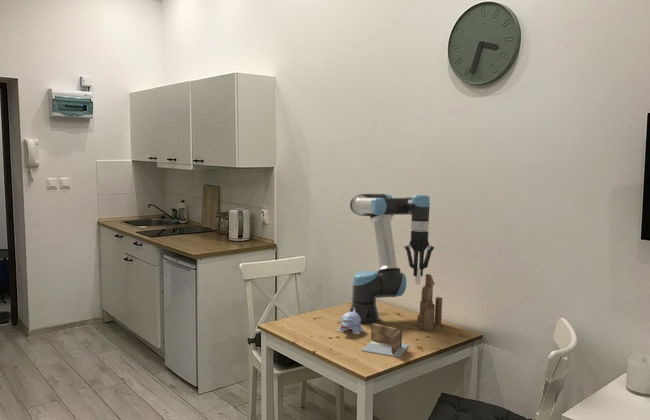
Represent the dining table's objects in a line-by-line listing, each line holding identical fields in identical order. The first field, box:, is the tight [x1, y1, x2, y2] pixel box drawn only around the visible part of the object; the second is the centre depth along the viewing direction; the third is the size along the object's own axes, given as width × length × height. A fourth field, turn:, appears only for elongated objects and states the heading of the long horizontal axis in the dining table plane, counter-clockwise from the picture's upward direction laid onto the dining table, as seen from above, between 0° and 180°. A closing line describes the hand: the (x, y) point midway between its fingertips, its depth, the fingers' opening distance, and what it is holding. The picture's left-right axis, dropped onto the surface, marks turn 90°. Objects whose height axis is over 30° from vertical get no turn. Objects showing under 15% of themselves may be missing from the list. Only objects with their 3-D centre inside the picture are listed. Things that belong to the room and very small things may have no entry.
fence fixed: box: [391, 329, 403, 354], centre depth 220 cm, size 2×11×8 cm, turn 157°
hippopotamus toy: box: [336, 307, 364, 335], centre depth 244 cm, size 11×15×10 cm
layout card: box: [361, 340, 410, 358], centre depth 223 cm, size 16×15×1 cm
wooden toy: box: [416, 273, 443, 332], centre depth 254 cm, size 16×7×25 cm, turn 147°
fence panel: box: [370, 322, 399, 345], centre depth 229 cm, size 12×1×7 cm, turn 54°
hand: (417, 283), depth 236 cm, fingers closed
